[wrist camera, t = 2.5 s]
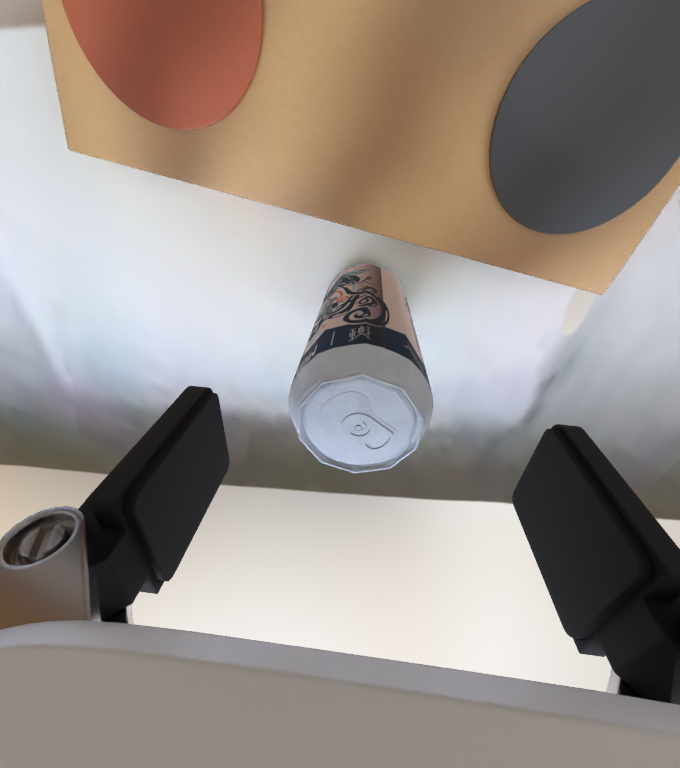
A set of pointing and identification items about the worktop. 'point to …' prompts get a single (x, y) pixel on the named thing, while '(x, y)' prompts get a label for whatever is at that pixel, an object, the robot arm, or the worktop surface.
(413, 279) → the worktop surface
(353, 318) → the beer can
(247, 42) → the board
